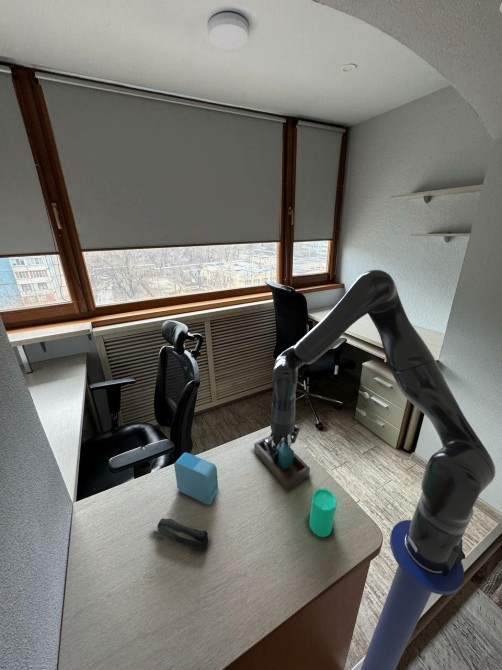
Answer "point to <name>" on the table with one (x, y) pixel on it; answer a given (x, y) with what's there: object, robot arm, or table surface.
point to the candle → (322, 512)
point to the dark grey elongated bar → (182, 533)
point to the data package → (196, 477)
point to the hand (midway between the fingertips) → (280, 456)
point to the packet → (285, 456)
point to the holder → (287, 476)
